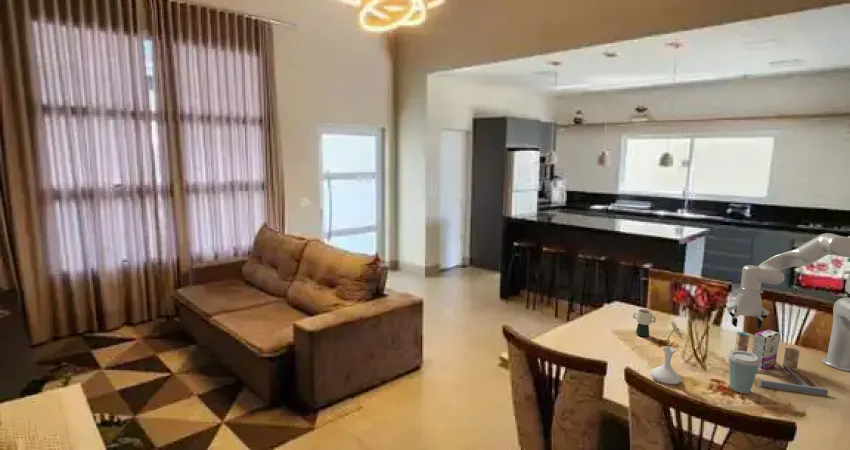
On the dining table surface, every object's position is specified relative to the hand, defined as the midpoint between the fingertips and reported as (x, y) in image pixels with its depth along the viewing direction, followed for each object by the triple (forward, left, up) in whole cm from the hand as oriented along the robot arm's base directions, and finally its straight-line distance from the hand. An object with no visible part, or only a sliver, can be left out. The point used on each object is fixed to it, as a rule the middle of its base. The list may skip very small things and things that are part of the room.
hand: (746, 326), depth 217 cm
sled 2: (-15, +22, -13) cm, 30 cm away
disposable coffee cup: (+16, +41, -14) cm, 46 cm away
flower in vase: (+43, +41, -14) cm, 61 cm away
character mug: (+43, -8, -14) cm, 46 cm away
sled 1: (-3, +11, -13) cm, 17 cm away
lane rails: (-6, +25, -13) cm, 29 cm away
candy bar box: (-3, +15, -14) cm, 20 cm away
